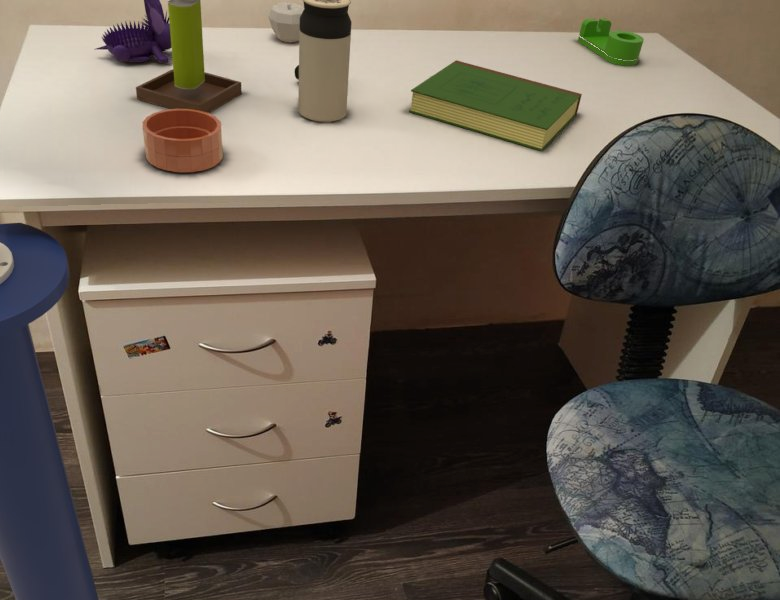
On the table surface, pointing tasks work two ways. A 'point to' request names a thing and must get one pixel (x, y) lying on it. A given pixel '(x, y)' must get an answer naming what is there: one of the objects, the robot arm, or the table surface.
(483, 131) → the hardcover book
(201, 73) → the vape
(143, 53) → the creature
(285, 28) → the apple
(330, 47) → the travel mug
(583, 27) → the green stand
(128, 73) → the table surface
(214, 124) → the bowl
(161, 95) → the tray
